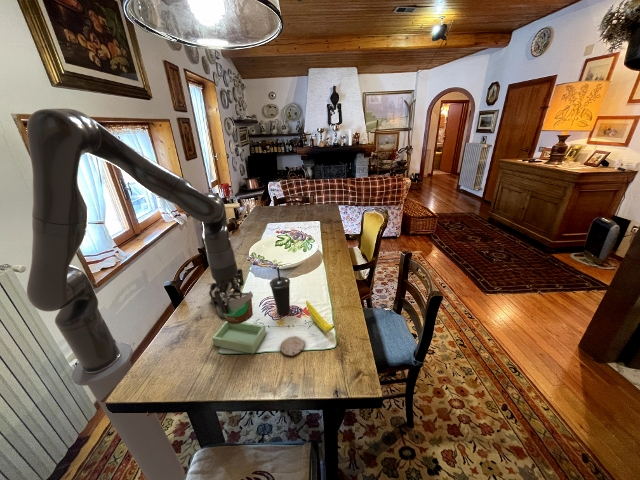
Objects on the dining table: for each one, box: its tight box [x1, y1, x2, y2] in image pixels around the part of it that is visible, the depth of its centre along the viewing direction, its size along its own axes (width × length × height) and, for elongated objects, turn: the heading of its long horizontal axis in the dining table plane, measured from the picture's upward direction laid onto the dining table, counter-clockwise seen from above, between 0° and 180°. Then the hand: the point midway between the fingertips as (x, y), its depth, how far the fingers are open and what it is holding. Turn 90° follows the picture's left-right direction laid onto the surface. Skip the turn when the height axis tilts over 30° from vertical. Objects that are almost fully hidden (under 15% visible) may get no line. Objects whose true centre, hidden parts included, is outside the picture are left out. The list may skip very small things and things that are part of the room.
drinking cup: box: [269, 266, 291, 316], centre depth 96 cm, size 8×8×20 cm
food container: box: [222, 290, 254, 324], centre depth 82 cm, size 12×6×10 cm, turn 81°
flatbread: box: [279, 335, 305, 357], centre depth 84 cm, size 8×8×1 cm
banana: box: [305, 300, 336, 332], centre depth 92 cm, size 3×19×6 cm, turn 32°
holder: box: [211, 320, 267, 355], centre depth 87 cm, size 15×9×4 cm, turn 75°
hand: (232, 306), depth 82 cm, fingers closed on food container, 6 cm apart
